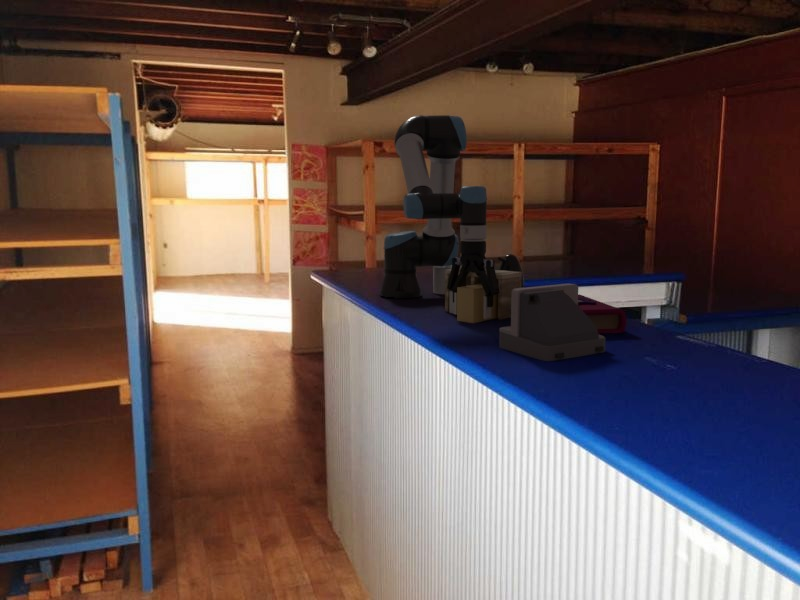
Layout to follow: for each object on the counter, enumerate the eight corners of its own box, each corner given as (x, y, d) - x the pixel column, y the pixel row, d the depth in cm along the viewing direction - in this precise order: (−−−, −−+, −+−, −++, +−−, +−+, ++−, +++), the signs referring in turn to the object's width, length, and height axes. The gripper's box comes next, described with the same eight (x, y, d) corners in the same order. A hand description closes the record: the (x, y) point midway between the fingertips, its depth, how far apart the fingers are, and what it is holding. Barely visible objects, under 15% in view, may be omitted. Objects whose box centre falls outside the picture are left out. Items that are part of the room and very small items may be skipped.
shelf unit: (445, 311, 217) (445, 269, 215) (465, 307, 225) (465, 267, 223) (501, 319, 203) (501, 275, 201) (520, 315, 210) (521, 272, 208)
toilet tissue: (429, 291, 263) (429, 265, 261) (458, 290, 266) (458, 264, 265) (438, 295, 252) (438, 268, 251) (469, 293, 256) (469, 267, 254)
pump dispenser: (489, 295, 252) (490, 253, 250) (513, 293, 257) (514, 252, 254) (505, 298, 243) (505, 255, 241) (529, 296, 248) (530, 254, 245)
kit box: (457, 321, 201) (457, 287, 200) (493, 313, 214) (493, 281, 213) (473, 323, 197) (473, 289, 196) (509, 315, 210) (509, 283, 209)
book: (583, 316, 209) (584, 292, 207) (625, 335, 181) (627, 306, 180) (516, 319, 206) (517, 293, 205) (549, 337, 178) (550, 309, 177)
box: (449, 313, 215) (449, 291, 214) (465, 310, 221) (465, 288, 220) (464, 315, 211) (464, 292, 210) (480, 312, 216) (480, 290, 215)
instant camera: (564, 338, 177) (566, 280, 174) (616, 355, 157) (619, 290, 155) (491, 345, 169) (492, 284, 167) (536, 364, 150) (538, 296, 148)
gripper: (434, 239, 203) (434, 313, 207) (497, 242, 188) (496, 322, 191) (450, 238, 209) (450, 310, 212) (513, 240, 193) (511, 318, 197)
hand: (472, 315), depth 202 cm, fingers open, 10 cm apart
